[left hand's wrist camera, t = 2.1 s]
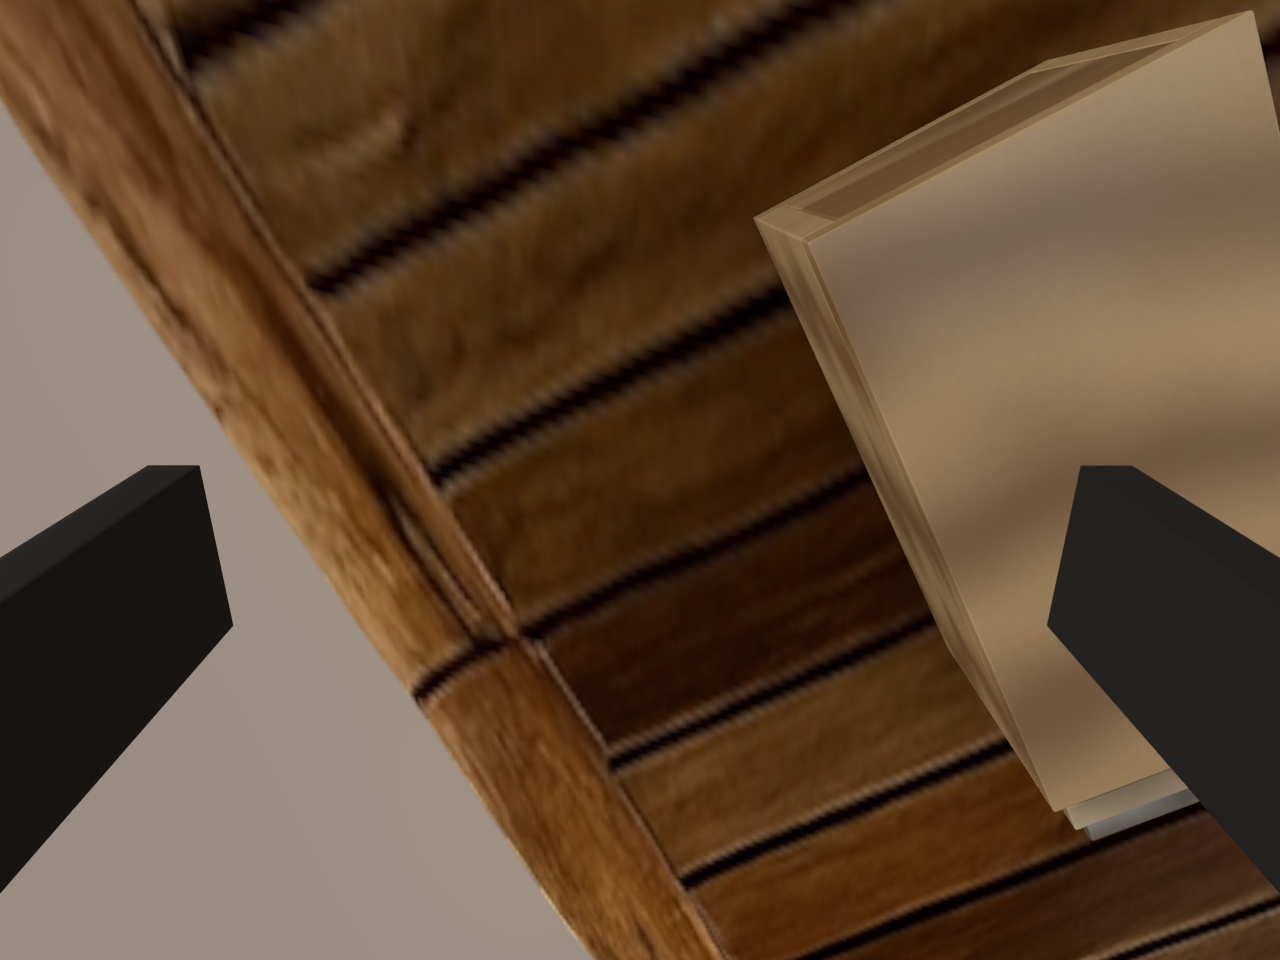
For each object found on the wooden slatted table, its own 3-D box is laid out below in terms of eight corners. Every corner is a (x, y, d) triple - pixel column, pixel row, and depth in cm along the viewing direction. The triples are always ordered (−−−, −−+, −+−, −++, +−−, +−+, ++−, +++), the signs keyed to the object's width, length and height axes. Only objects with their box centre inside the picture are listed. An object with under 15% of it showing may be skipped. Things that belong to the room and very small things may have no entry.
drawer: (1238, 696, 38) (1394, 834, 30) (1023, 780, 39) (1118, 931, 32) (1076, 169, 29) (1234, 172, 22) (812, 304, 31) (872, 351, 23)
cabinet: (1193, 541, 36) (1400, 681, 26) (946, 646, 38) (1054, 813, 28) (1046, 60, 29) (1254, 8, 19) (752, 217, 31) (807, 242, 21)
